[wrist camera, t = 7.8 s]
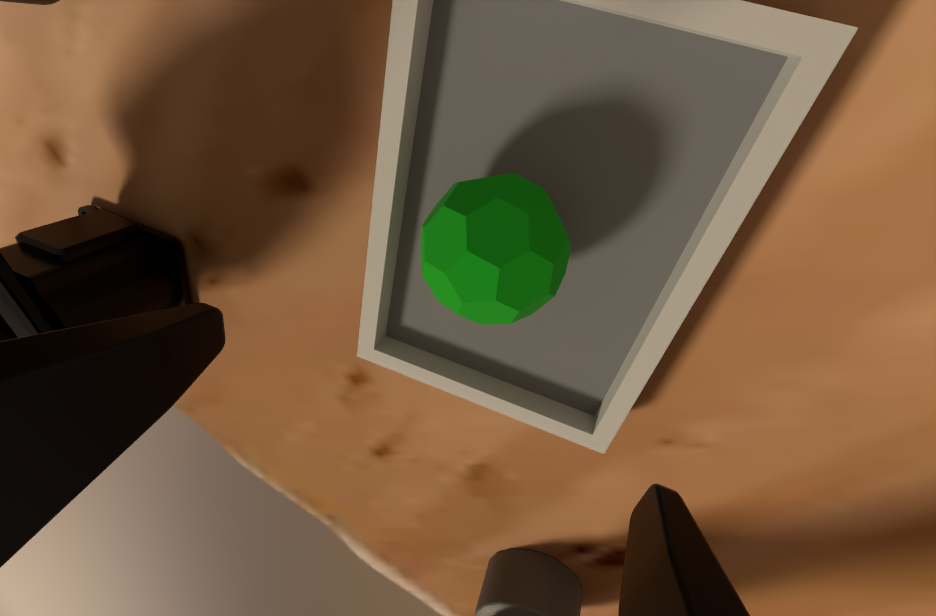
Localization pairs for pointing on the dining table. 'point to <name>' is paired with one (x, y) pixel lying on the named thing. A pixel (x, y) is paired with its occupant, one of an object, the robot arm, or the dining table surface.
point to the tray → (579, 180)
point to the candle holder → (528, 586)
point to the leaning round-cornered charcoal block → (33, 1)
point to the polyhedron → (494, 249)
